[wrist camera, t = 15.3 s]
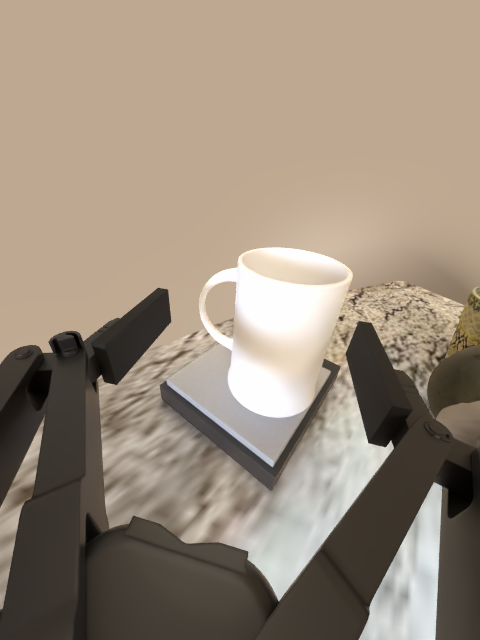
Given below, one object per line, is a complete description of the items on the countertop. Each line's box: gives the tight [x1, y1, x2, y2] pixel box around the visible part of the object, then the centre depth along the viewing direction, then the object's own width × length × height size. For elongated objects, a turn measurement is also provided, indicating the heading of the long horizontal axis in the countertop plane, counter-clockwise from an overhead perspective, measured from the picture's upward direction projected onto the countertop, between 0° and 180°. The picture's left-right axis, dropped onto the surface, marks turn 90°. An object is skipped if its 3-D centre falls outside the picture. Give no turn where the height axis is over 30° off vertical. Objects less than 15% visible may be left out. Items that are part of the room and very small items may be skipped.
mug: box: [199, 248, 353, 418], centre depth 21 cm, size 12×8×12 cm
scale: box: [160, 334, 340, 490], centre depth 25 cm, size 13×15×3 cm
